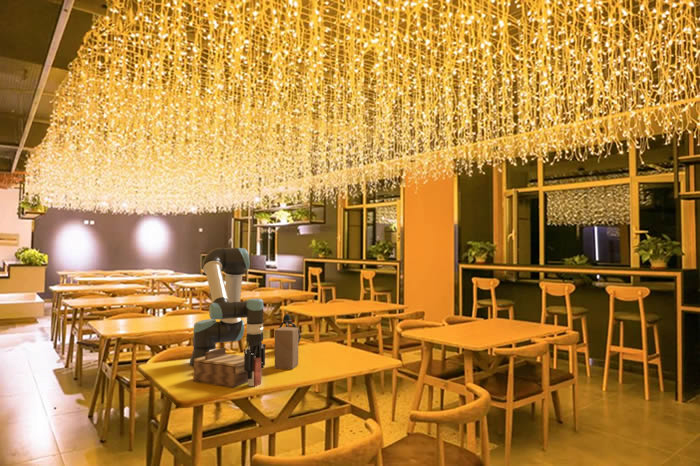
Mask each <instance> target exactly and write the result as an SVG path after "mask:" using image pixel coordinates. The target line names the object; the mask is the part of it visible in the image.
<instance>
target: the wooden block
mask: <svg viewBox="0 0 700 466" xmlns="http://www.w3.org/2000/svg"><path fill="white" fill-rule="evenodd" d="M298 329H299V328H298V327H297V328H296V327H291V326H288V327H286V326H282V327H281V328H279V327H278V328H276V329H274V339H275V340H274V369H276V370H277V369H280V370H294V368H296V367H298V366H299V343H298V338H299V335H298Z"/></svg>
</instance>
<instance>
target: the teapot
mask: <svg viewBox="0 0 700 466" xmlns="http://www.w3.org/2000/svg"><path fill="white" fill-rule="evenodd" d="M289 324H290V325H291V326H292V327H296V328H298V326H297V325H296V324H295V323H294V322H292V318H291V316H290V314H288V313H286V314H284V316H283V318H282V322H281V323H280V325H279V327H278V328H281V327H283V325H285V327H289ZM301 337H302V335H301V332H300V329H299V328H298V344H299V343H300V342H301V339H302V338H301ZM274 341H275V338H274Z"/></svg>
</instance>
